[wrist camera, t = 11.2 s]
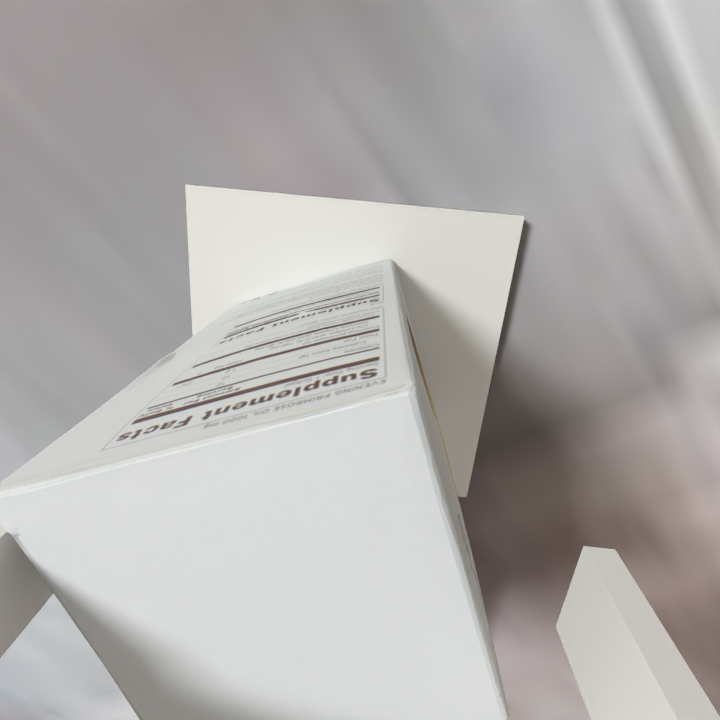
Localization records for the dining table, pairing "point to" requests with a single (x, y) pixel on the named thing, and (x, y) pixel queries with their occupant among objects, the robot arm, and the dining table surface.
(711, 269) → the dining table surface
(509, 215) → the tile
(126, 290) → the dining table surface
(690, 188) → the dining table surface
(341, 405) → the supplement box
